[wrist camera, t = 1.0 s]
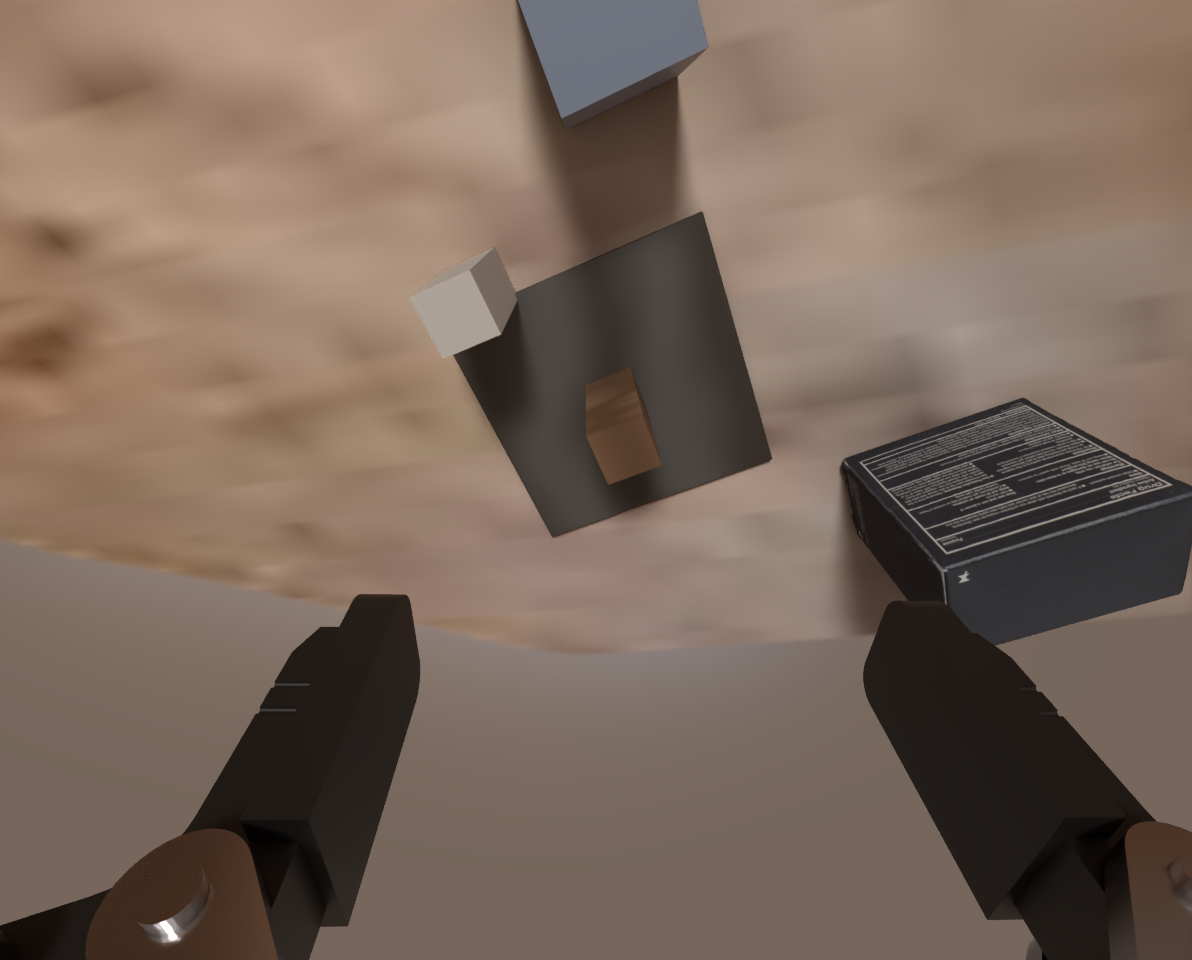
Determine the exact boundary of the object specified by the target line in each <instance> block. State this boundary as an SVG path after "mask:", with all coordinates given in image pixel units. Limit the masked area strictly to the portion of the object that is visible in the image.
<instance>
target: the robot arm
mask: <svg viewBox="0 0 1192 960" xmlns="http://www.w3.org/2000/svg"><path fill="white" fill-rule="evenodd" d="M863 681H864V687H865V692H866V696H867V698H868V701H869V703H870V705H871V707H872V709H873V711H874V712H875V714H876V716H877V718H878V720H879V722H880V724H881V725H882V727H883V729H884V731H885V732H886V735H887V736H888V738H889V740H890V742H891V744H892V746H893V747H894V749H895V751H896V753H897V755H898V757H899V758H900V760H901V762H902V764H903V766H904V768H905V769H906V771H907V773H908V775H909V777H910V778H911V780H912V782H913V784H914V786H915V788H916V789H917V792H918V793H919V795H920V797H921V799H922V801H923V802H924V804H925V806H926V808H927V810H928V812H929V814H930V815H931V817H932V819H933V821H934V823H935V825H936V826H937V828H938V830H939V832H940V834H941V836H942V837H943V839H944V841H945V843H946V845H947V847H948V849H949V850H950V852H951V854H952V856H953V858H954V860H955V861H956V863H957V865H958V867H959V869H960V871H961V872H962V874H963V876H964V878H965V880H966V881H967V883H968V885H969V887H970V889H971V891H972V893H973V894H974V896H975V898H976V900H977V902H978V904H979V906H980V907H981V909H982V911H983V913H984V915H985V917H986V918H987V920H1005V919H1006V920H1010V919H1011V920H1013V919H1024V921H1025V923H1026V924H1027V926H1028V928H1029V929H1030V931H1031V933H1032V934H1033V936H1034V938H1033V939H1032V941H1031V942H1030V944H1029V946H1028V948H1027V955H1026V960H1192V832H1190V831H1188V830H1186V829H1183V828H1181V827H1177V826H1174V825H1171V824H1167V823H1162V822H1157V821H1156V820H1155V819H1154V818H1153V817H1152V816H1151V815H1150V814H1149V813H1148V812H1147V811H1146V810H1145V809H1144V808H1143V806H1142V805H1141V804H1140V803H1139V802H1138V801H1137V800H1136V798H1135V797H1134V796H1133V795H1132V794H1131V793H1130V792H1129V791H1128V789H1127V788H1126V787H1125V786H1124V785H1123V784H1122V783H1121V782H1120V780H1119V779H1118V778H1117V777H1116V776H1115V775H1114V774H1113V773H1112V771H1111V770H1110V769H1109V768H1108V767H1107V766H1106V765H1105V763H1104V762H1103V761H1102V760H1101V759H1100V758H1099V757H1098V755H1097V754H1096V753H1095V752H1094V751H1093V750H1092V749H1091V748H1090V746H1089V745H1088V744H1087V743H1086V742H1085V741H1084V740H1083V739H1082V737H1081V736H1080V735H1079V734H1078V733H1077V732H1076V731H1075V729H1074V728H1073V727H1072V726H1071V725H1070V724H1069V723H1068V721H1067V720H1066V719H1065V718H1064V717H1063V716H1062V717H1061V716H1058V714H1057V709H1056V708H1055V707H1054V706H1053V704H1052V703H1051V702H1050V701H1049V700H1048V699H1047V698H1046V697H1045V696H1044V694H1043V693H1042V692H1037V690H1036V685H1035V684H1034V683H1033V682H1032V681H1031V680H1030V679H1029V677H1028V676H1027V675H1026V674H1025V673H1024V672H1023V671H1022V670H1021V668H1020V667H1019V666H1018V665H1017V664H1016V663H1015V661H1014V660H1013V659H1012V658H1011V657H1010V656H1008V655H1007V654H1005V653H1004V652H1003V651H1001V650H1000V649H999V648H997V647H996V646H994V645H993V644H992V643H990V642H989V641H987V640H986V639H985V638H983V637H982V636H981V635H979V634H978V633H971V632H970V630H969V629H968V628H967V627H966V626H965V624H964V623H963V622H962V621H961V620H960V618H959V617H958V616H957V615H956V614H955V613H954V611H953V610H952V609H951V608H950V607H949V606H948V605H946V604H945V603H943V602H939V601H893V602H891V603H890V604H889V605H888V606H887V608H886V610H885V612H884V615H883V617H882V620H881V622H880V625H879V628H878V630H877V633H876V636H875V638H874V641H873V644H872V646H871V649H870V652H869V654H868V657H867V660H866V662H865V665H864V671H863ZM419 682H420V659H419V654H418V647H417V641H416V635H415V628H414V622H413V616H412V610H411V604H410V600H409V598H408V596H407V595H392V594H359V595H357V596H356V597H355V598H354V600H353V602H352V603H351V605H350V607H349V609H348V611H347V613H346V615H345V617H344V619H343V621H342V623H341V625H340V627H320V628H319V629H318V630H317V631H316V632H314V633H313V634H312V635H311V636H310V637H309V638H308V639H306V640H305V641H304V642H303V643H302V644H301V645H300V646H298V647H297V648H296V649H295V650H294V651H293V652H292V654H291V655H290V657H289V658H288V660H287V662H286V664H285V665H284V667H283V669H282V670H281V672H280V674H279V675H278V677H277V679H276V680H275V686H274V688H271V689H270V691H269V693H268V694H267V696H266V697H265V699H264V701H263V703H262V704H261V706H260V712H259V714H256V715H255V716H254V718H253V720H252V721H251V723H250V725H249V726H248V728H247V730H246V732H245V733H244V735H243V737H242V738H241V740H240V742H239V743H238V745H237V747H236V748H235V750H234V752H233V753H232V755H231V757H230V759H229V761H228V762H227V764H226V765H225V767H224V769H223V770H222V772H221V774H220V776H219V777H218V779H217V781H216V782H215V784H214V786H213V787H212V789H211V791H210V793H209V794H208V796H207V798H206V799H205V801H204V803H203V804H202V806H201V808H200V810H199V811H198V813H197V815H196V816H195V818H194V819H193V821H192V822H191V824H190V825H189V827H188V828H187V829H186V830H185V832H184V833H183V834H182V835H181V836H178V837H176V838H174V839H172V840H170V841H168V842H166V843H164V844H162V845H161V846H159V847H158V848H156V849H154V850H152V851H151V852H150V853H148V854H147V855H146V856H144V857H143V858H142V859H140V860H139V861H138V862H137V863H136V864H134V865H133V866H132V867H131V868H130V869H129V870H128V871H127V872H126V873H125V874H124V875H123V876H122V877H121V878H120V879H119V880H118V881H117V882H116V883H115V885H114V886H113V887H112V888H110V889H108V890H106V891H103V892H101V893H98V894H95V895H93V896H90V897H87V898H84V899H81V900H78V901H75V902H71V903H69V904H65V905H62V906H59V907H56V908H53V909H50V910H47V911H44V912H41V913H38V914H35V915H31V916H28V917H26V918H22V919H19V920H17V921H13V922H10V923H7V924H4V925H1V926H0V960H309V958H310V955H311V952H312V949H313V946H314V943H315V940H316V937H317V934H318V931H319V928H320V927H327V926H328V927H329V926H330V927H331V926H348V924H349V921H350V917H351V914H352V911H353V908H354V904H355V901H356V897H357V894H358V891H359V888H360V884H361V881H362V878H363V874H364V871H365V868H366V865H367V861H368V858H369V855H370V851H371V848H372V845H373V842H374V838H375V835H376V831H377V828H378V825H379V822H380V818H381V815H382V812H383V809H384V805H385V801H386V799H387V795H388V792H389V788H390V785H391V782H392V779H393V775H394V772H395V769H396V766H397V762H398V759H399V756H400V752H401V749H402V746H403V742H404V739H405V736H406V733H407V729H408V726H409V723H410V719H411V716H412V713H413V709H414V706H415V703H416V699H417V695H418V689H419Z"/></svg>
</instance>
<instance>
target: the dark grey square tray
mask: <svg viewBox="0 0 1192 960" xmlns="http://www.w3.org/2000/svg"><path fill="white" fill-rule="evenodd" d="M515 295H516V297H517V302H516V304H515V306H514V308H513V311H512V313H511V315H510V317H509V319H508V321H507V323H506V325H505V327H504V329H503V331H502V334H501V335H499V336H496V337H494V338H492V339H489V340H487V341H484V342H482V343H480V344H477V345H475V346H473V347H470V348H468V349H466V350H463V351H461V352H459V353H456V354H454V357H455V359H456V361H457V363H458V364H459V366H460V368H461V370H462V372H463V374H464V375H465V377H466V379H467V381H468V383H469V385H470V386H471V388H472V390H473V392H474V394H475V396H476V398H477V399H478V401H479V403H480V405H481V407H482V409H483V410H484V412H485V414H486V416H487V418H488V420H489V421H490V423H491V425H492V427H493V429H494V431H495V432H496V434H497V436H498V438H499V440H500V442H501V444H502V445H503V447H504V449H505V451H506V453H507V455H508V456H509V458H510V460H511V462H512V464H513V466H514V467H515V469H516V471H517V473H518V475H519V477H520V479H521V480H522V482H523V484H524V486H525V488H526V490H527V491H528V493H529V495H530V497H531V499H532V501H533V502H534V504H535V506H536V508H537V510H538V512H539V514H540V515H541V517H542V519H543V521H544V523H545V525H546V526H547V528H548V530H549V532H550V534H551V536H552V537H553V536H556V535H558V534H561V533H564V532H567V531H570V530H573V529H575V528H578V527H581V526H584V525H587V524H590V523H592V522H595V521H598V520H601V519H604V518H607V517H609V516H612V515H615V514H618V513H621V512H624V511H626V510H629V509H632V508H635V507H638V506H641V505H643V504H646V503H649V502H652V501H655V500H658V499H660V498H663V497H666V496H669V495H672V494H675V493H677V492H680V491H683V490H686V489H689V488H692V487H694V486H697V485H700V484H703V483H706V482H709V481H711V480H714V479H717V478H720V477H723V476H726V475H728V474H731V473H734V472H737V471H740V470H743V469H745V468H748V467H751V466H754V465H757V464H760V463H762V462H765V461H768V460H771V459H772V456H771V453H770V449H769V446H768V442H767V439H766V435H765V432H764V428H763V424H762V421H761V417H760V414H759V410H758V407H757V403H756V400H755V396H754V392H753V389H752V385H751V382H750V378H749V375H748V371H747V368H746V364H745V361H744V357H743V353H742V350H741V346H740V343H739V339H738V336H737V332H736V329H735V325H734V321H733V318H732V314H731V311H730V307H729V304H728V300H727V297H726V293H725V290H724V286H723V282H722V279H721V275H720V272H719V268H718V265H717V261H716V258H715V254H714V251H713V247H712V243H711V240H710V236H709V233H708V229H707V226H706V222H705V219H704V215H703V212H699V213H697V214H695V215H692V216H690V217H688V218H685V219H683V220H681V221H678V222H676V223H674V224H672V225H669V226H667V227H665V228H662V229H660V230H658V231H656V232H653V233H651V234H649V235H646V236H644V237H642V238H640V239H637V240H635V241H633V242H630V243H628V244H626V245H623V246H621V247H619V248H617V249H614V250H612V251H610V252H607V253H605V254H603V255H601V256H598V257H596V258H594V259H591V260H589V261H587V262H585V263H582V264H580V265H578V266H575V267H573V268H571V269H568V270H566V271H564V272H562V273H559V274H557V275H555V276H552V277H550V278H548V279H546V280H543V281H541V282H539V283H536V284H534V285H532V286H529V287H527V288H525V289H523V290H520V291H518V292H516V293H515Z"/></svg>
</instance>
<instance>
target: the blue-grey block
mask: <svg viewBox="0 0 1192 960" xmlns="http://www.w3.org/2000/svg"><path fill="white" fill-rule="evenodd" d="M518 2H519V4H520V7H521V10H522V12H523V15H524V18H525V21H526V23H527V26H528V29H529V32H530V34H531V37H532V40H533V42H534V45H535V48H536V51H537V53H538V56H539V59H540V61H541V64H542V67H543V70H544V72H545V75H546V78H547V81H548V83H549V86H550V89H551V91H552V94H553V97H554V100H555V102H556V105H557V108H558V111H559V113H560V116H561V119H562V121H563V124H564V126H565V129H566V130H567V129H569V128H571V127H573V126H575V125H577V124H579V123H581V122H583V121H585V120H588V119H590V118H592V117H594V116H596V115H598V114H600V113H602V112H604V111H606V110H608V109H610V108H612V107H615V106H617V105H619V104H621V103H623V102H625V101H627V100H629V99H631V98H633V97H635V96H637V95H639V94H642V93H644V92H646V91H648V90H650V89H652V88H654V87H656V86H658V85H660V84H662V83H664V82H667V81H669V80H671V79H673V78H675V77H677V76H678V75H679V74H681V73H682V72H683V71H684V70H685V69H686V68H687V67H688V66H689V65H690V64H691V63H692V62H693V61H694V60H695V59H697V58H698V57H699V56H700V55H701V54H702V53H703V52H704V51H705V50H706V49H707V48H708V43H707V39H706V34H705V30H704V26H703V22H702V18H701V14H700V10H699V6H698V2H697V0H518Z"/></svg>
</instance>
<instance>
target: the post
mask: <svg viewBox="0 0 1192 960" xmlns="http://www.w3.org/2000/svg"><path fill="white" fill-rule="evenodd" d="M515 293H516V292H515V290H514V288H513V285H512V283H511V281H510V279H509V277H508V275H507V272H506V270H505V268H504V266H503V264H502V262H501V259H500V257H499V255H498V253H497V251H496V249H495V247H493V248H491V249H489V250H486V251H484V252H482V253H480V254H478V255H475V256H473V257H471V258H469V259H467V260H464V261H462V262H460V263H458V264H456V265H453V266H451V267H449V268H447V269H446V270H444V271H443V272H442V273H440V274H439V275H438V276H436V277H435V278H434V279H432V280H431V281H430V282H428V283H427V284H426V285H424V286H423V287H422V288H420V289H419V290H418V291H417V292H415V293H414V294H413V295H411V296H410V297H409V299H410V301H411V302H412V304H413V306H414V308H415V310H416V311H417V313H418V315H419V317H420V319H421V320H422V322H423V324H424V326H425V328H426V329H427V331H428V333H429V335H430V337H431V338H432V340H433V342H434V344H435V346H436V347H437V349H438V351H439V353H440V355H441V356H442V358H443V359H444V358H447V357H449V356H452V355H454V354H456V353H459V352H461V351H463V350H466V349H468V348H470V347H473V346H475V345H477V344H480V343H482V342H484V341H487V340H489V339H492V338H494V337H496V336H499V335H501V334H502V331H503V329H504V327H505V325H506V323H507V321H508V319H509V317H510V315H511V313H512V311H513V308H514V306H515V304H516V302H517V297H516V295H515Z"/></svg>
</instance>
